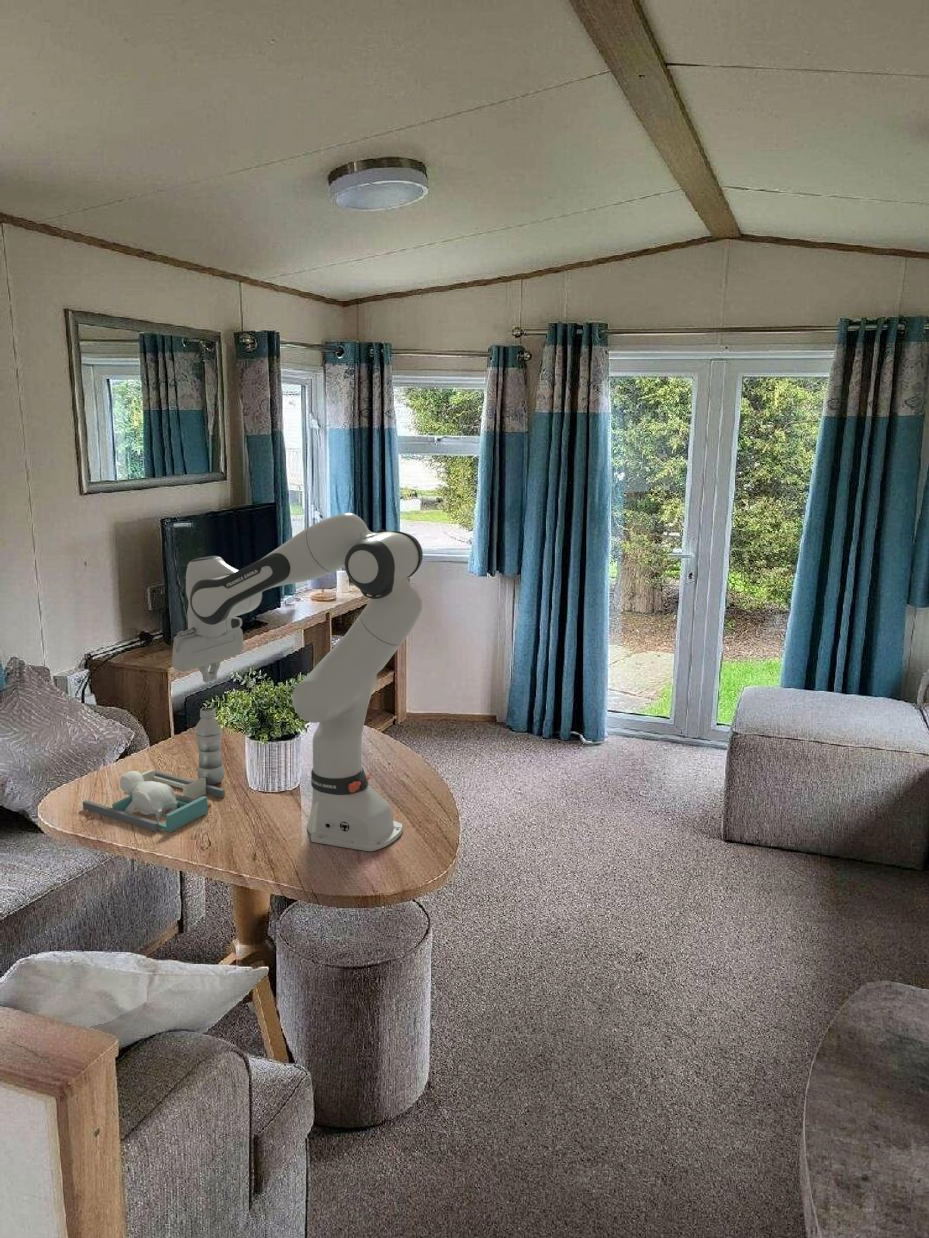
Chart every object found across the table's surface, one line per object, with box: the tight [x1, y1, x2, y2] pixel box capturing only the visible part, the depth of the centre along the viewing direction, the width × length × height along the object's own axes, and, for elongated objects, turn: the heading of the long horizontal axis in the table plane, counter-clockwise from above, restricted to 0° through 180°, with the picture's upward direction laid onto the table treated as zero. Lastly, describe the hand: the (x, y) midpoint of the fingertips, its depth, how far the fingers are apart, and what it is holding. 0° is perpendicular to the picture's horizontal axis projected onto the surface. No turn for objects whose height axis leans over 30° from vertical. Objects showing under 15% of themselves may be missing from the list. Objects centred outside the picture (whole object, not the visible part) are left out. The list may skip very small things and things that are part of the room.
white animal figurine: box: [119, 770, 178, 821], centre depth 208 cm, size 9×8×15 cm
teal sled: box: [111, 794, 209, 833], centre depth 206 cm, size 19×12×4 cm, turn 62°
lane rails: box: [82, 770, 226, 833], centre depth 213 cm, size 24×22×2 cm
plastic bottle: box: [194, 706, 225, 786], centre depth 223 cm, size 6×7×20 cm
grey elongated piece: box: [140, 768, 207, 799], centre depth 219 cm, size 19×6×4 cm, turn 62°
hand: (209, 680), depth 207 cm, fingers closed
